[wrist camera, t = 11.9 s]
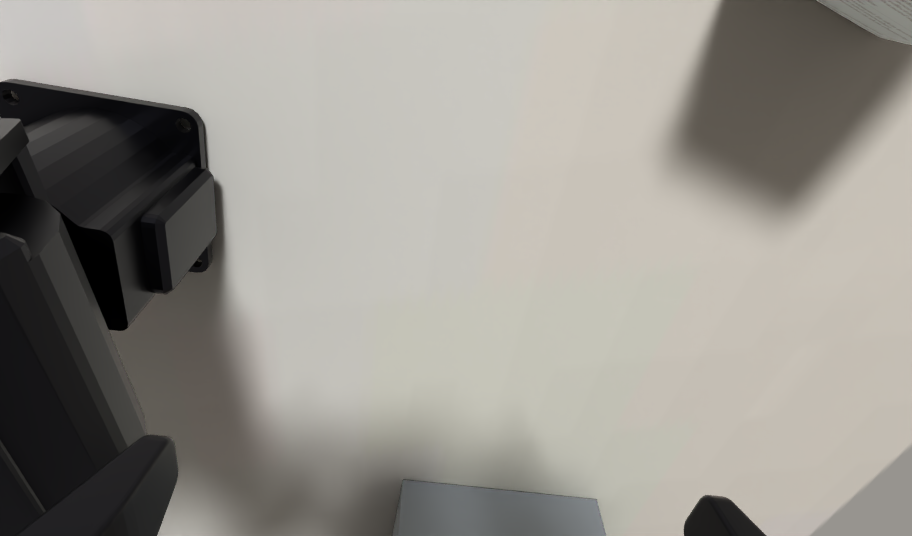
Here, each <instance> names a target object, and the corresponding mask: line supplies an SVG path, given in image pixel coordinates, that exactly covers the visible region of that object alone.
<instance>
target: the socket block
mask: <svg viewBox="0 0 912 536" xmlns="http://www.w3.org/2000/svg"><path fill="white" fill-rule="evenodd" d="M392 536H606V533H605V529H604V525H603V521H602V518H601V514H600V510H599V506H598V502H597V499H587V498H577V497H567V496H558V495H548V494H538V493H528V492H519V491H509V490H499V489H489V488H480V487H470V486H460V485H450V484H441V483H431V482H421V481H411V480H403V483H402V488H401V493H400V498H399V503H398V508H397V513H396V518H395V524H394V529H393V534H392Z"/></svg>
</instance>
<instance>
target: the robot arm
mask: <svg viewBox="0 0 912 536" xmlns="http://www.w3.org/2000/svg"><path fill="white" fill-rule="evenodd" d="M11 90H12V91H14V92H15V93H16V94H17V96H18V98H19V101H17V100H16V99H14V98H13V97H12V95H11ZM0 117H1V118H0V536H157V534H158V532H159V529H160V526H161V523H162V521H163V518H164V515H165V512H166V510H167V507H168V504H169V501H170V499H171V496H172V493H173V491H174V488H175V485H176V482H177V477H178V464H177V457H176V450H175V443H174V440H173V439H172V438H171V437H168V436H158V435H147V433H146V425H145V418H144V414H143V411H142V409H141V406H140V404H139V402H138V399H137V397H136V394H135V392H134V390H133V387H132V385H131V382H130V380H129V378H128V375H127V373H126V370H125V368H124V366H123V363H122V361H121V358H120V356H119V354H118V351H117V349H116V346H115V344H114V342H113V339H112V337H111V334H110V332H109V330H117V331H123V330H125V329H127V328H128V327H129V326H130V324H131V323H132V322H133V321H134V319H135V318H136V317H137V316H138V315H139V313H140V312H141V311H142V310H143V308H144V307H145V306H146V305H147V303H148V302H149V301H150V300H151V299H152V297H153V296H154V295H155V294H156V293H158V294H168V293H169V292H170V291H172V290H173V289H174V288H175V287H176V286H177V284H178V283H179V282H180V281H181V279H182V278H183V277H184V275H185V274H186V273H187V272H188V271H190V272H203V271H206V269H207V268H208V267H209V265H210V264H211V263H212V245H211V241H212V239H213V238H214V237H215V235H216V234H217V226H216V210H215V195H214V179H213V175H212V174H211V173H210V171H209V170H208V169H206V159H205V145H204V131H203V122H202V119H201V117H200V116H199V115H198V113H196V112H195V111H194V110H192V109H189V108H186V107H180V106H174V105H168V104H162V103H156V102H150V101H144V100H138V99H132V98H126V97H120V96H114V95H108V94H102V93H96V92H90V91H84V90H78V89H72V88H66V87H60V86H54V85H48V84H42V83H36V82H30V81H24V80H18V79H9V80H5V81H2V82H0ZM181 118H184V119H186V120H188V122H189V123H190V125H191V129H187V128H185V127H184V126H183V125H182V124H181V121H180V120H181ZM198 257H199V258H200V259H201V260H202V262H198V261H196V260H197V259H198ZM684 536H766V535H765V534H764V533H763V532H762V531H761V530H760V529H759V528H758V527H757V526H756V525H755V524H754V523H753V522H752V521H751V520H750V519H749V518H748V517H747V516H746V515H745V514H744V513H743V512H742V511H741V510H740V509H739V508H738V507H737V506H736V505H735V504H734V503H733V502H732V501H731V500H730V499H728V498H726V497H722V496H712V495H705V496H703V497H702V498H701V499H700V500H699V501H698V503H697V504H696V506H695V507H694V509H693V510H692V512H691V513H690V515H689V516H688V518H687V519H686V521H685V525H684Z"/></svg>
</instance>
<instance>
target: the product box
mask: <svg viewBox="0 0 912 536" xmlns="http://www.w3.org/2000/svg"><path fill="white" fill-rule="evenodd" d="M816 1H818V2H820V3H821V4H823V5H825V6H826V7H828V8H830V9H831V10H833V11H835V12H836V13H838V14H840V15H841V16H843V17H845V18H846V19H848V20H850V21H851V22H853V23H855V24H857V25H858V26H860V27H862V28H864V29H865V30H867V31H869V32H871V33H873V34H874V35H876V36H878V37H880V38H883V39H887V40H892V41H896V42H899V43H904V44H909V45H912V0H816Z"/></svg>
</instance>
